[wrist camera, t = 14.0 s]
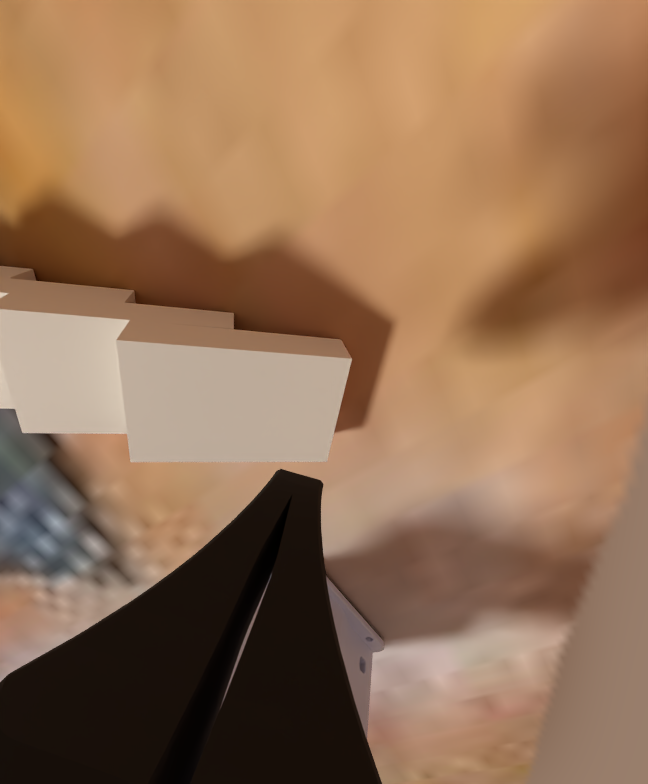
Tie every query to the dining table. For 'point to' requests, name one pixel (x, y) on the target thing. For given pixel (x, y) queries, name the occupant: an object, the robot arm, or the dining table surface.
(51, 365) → the domino
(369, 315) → the dining table surface
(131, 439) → the domino
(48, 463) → the dining table surface
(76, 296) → the domino
